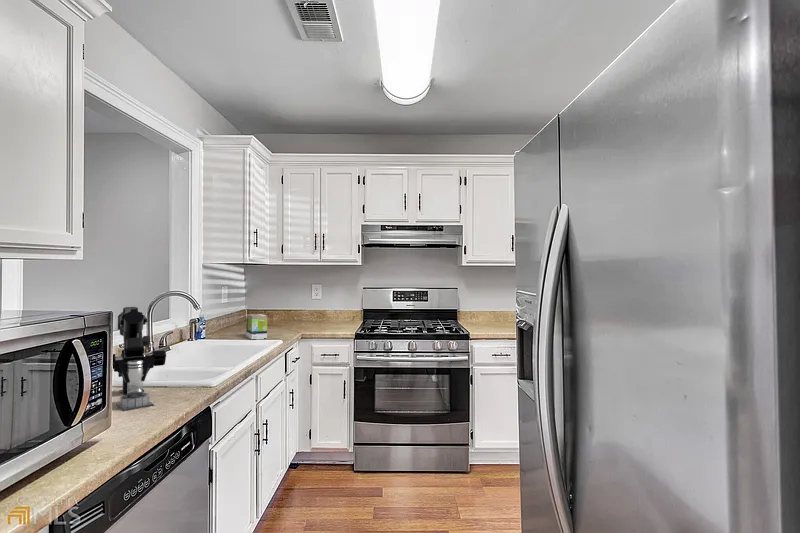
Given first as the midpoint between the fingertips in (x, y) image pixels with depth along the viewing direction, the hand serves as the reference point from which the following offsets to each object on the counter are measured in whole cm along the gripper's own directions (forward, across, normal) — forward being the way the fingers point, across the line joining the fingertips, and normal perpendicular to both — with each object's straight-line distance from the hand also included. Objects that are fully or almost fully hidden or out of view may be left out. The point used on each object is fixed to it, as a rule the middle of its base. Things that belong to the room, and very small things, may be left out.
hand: (135, 381), depth 155 cm
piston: (+4, 0, +6) cm, 7 cm away
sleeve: (+5, 0, +6) cm, 8 cm away
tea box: (-85, +75, +98) cm, 149 cm away
